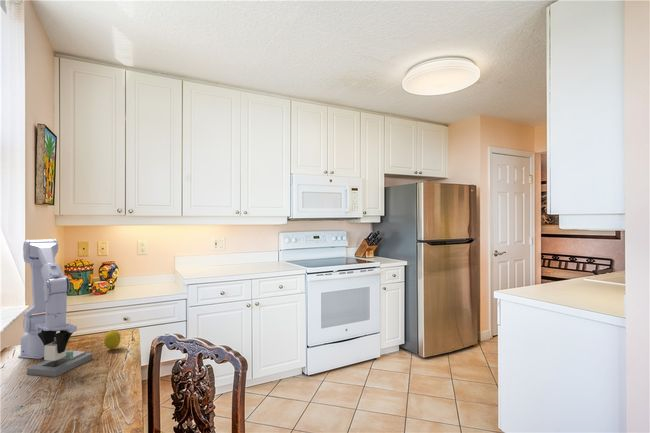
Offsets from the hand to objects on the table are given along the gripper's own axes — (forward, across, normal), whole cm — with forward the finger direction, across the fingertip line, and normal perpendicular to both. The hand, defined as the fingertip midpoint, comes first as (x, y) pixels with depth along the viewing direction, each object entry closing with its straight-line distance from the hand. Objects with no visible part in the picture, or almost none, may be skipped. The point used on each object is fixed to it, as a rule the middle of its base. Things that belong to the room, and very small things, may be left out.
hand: (55, 351), depth 119 cm
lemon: (+6, +6, +19) cm, 21 cm away
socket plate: (+6, 0, +2) cm, 6 cm away
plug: (+2, 0, 0) cm, 2 cm away
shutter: (+4, 0, +6) cm, 7 cm away
